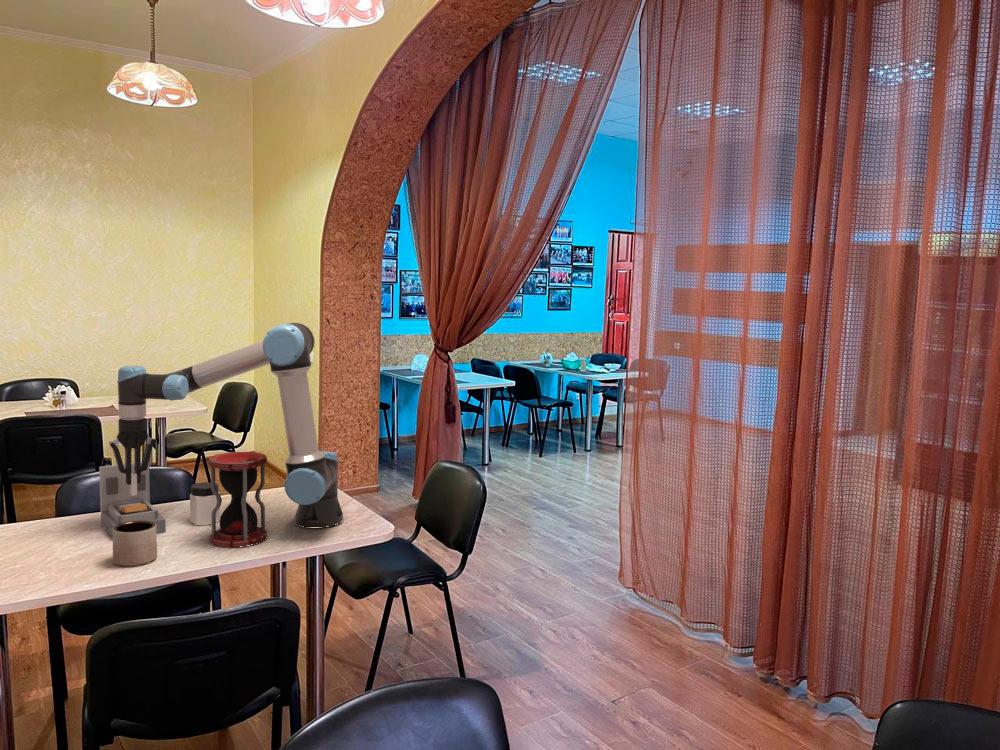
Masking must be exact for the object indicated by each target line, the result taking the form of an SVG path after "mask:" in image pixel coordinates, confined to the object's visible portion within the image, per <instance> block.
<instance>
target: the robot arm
mask: <svg viewBox="0 0 1000 750" xmlns="http://www.w3.org/2000/svg"><path fill="white" fill-rule="evenodd" d="M314 336H315V335H314V334H313V332H312V330H311V329H310V328H309V327H308V326H306V325H305V324H302V323H299V322H290V323H281V324H278V325H276V326H274V327H272V328H271V329H270V330H268V331H267V333H266V334H265V336H264V337H263V340H261V341H258V342H255V343H253V344H250V345H247V346H244V347H242V348H238V349H236V350H234V351H233V350H232V351H231V352H230V351H229V352H227V353H224V354H222V355H219V356H217V357H214V358H211V359H208V360H205V361H202V362H199V363H197V364H194V365H192V366H189V367H186V368H182V369H180V370H176V371H174V372H168V373H165V374H157V373H156V374H154V373H153V374H152V373H147V371H146V368H145V367H144V366H140V365H129V366H128V365H127V366H122V367H119V369H118V375H117V382H116V383H117V391H118V393H117V395H118V402H117V403H118V409H117V411H118V415H117V416H118V418H119V419H118V433H117V435H116V439H114V440H111V441H109V442H108V445H109V446H110V448H111V449H112V452H113V454H114V458H115V462H116V465H118V469H119V471H120V472H121V473H125V474H126V483H127V485H130V494H131V495H132V496H134V495H137V484H138V483H140V482H141V480H140V474H141V472H142V471H146V470H147V467H148V463H149V464H150V459H151V456H152V455H151V454H152V451H153V447H154V445H155V444H156V443H157V440H156V439H155V438H153V437H150V436H149V434H148V432H147V418H146V416H147V400H165V401H166V400H168V401H171V402H172V401H181V400H184V399H186V397H187V396H188V394H190V393H192V392H195V391H197V390H200V389H202V388H206V387H208V386H212V385H214V384H217V383H219V382H222V381H225V380H228V379H231V378H234V377H237V376H240V375H243V374H245V373H248V372H250V371H251V372H252V371H253V370H256V369H259V368H262V367H265V366H268V365H269V366H270V372H271V373H272V374H273V375H275V376H276V377H277V381H278V382H277V383H278V390H279V394H280V403H281V409H282V414H283V421H284V428H285V436H286V440H287V448H288V454H289V455H288V457H287V458H286V459H285V461H284V462H285V468H286V478H285V481H284V490H285V491H284V492H285V494H286V496H287V498H289V499H290V501H292V502H293V503H295V504H298V505H297V508H296V512H295V514H294V524H295V523H296V524H297V525H296V524H295V525H296V526H298V525H300V526H304V527H303V528H305V527H326V526H332V525H335V524H337V523H340V522H341V521H342V520H343V521H344V513H343V509H342V507H341V505H340V504H341V503H340V501H339V498H338V495H339V493H338V488H339V487H338V486H339V485H338V484H339V482H338V481H339V480H338V479H339V477H338V475H339V471H338V470H339V468H338V467H339V465H338V464H339V460H338V459H339V458H338V457H339V456H338V454H337V453H336V452H334V451H327V450H319V446H318V444H319V443H318V438H317V432H316V431H317V430H316V425H315V417H314V413H313V412H314V411H313V406H312V405H313V404H312V399H311V398H312V397H311V393H310V386H309V385H310V384H309V378H308V371H309V370H311V367H312V364H311V357H310V354H311V353H312V351H313V349H314V347H315V337H314ZM145 442H146V446H145V449H144V453H143V457H142V456H141V452H142V447H143V445H144V444H145ZM120 444H121V445H122V447H123V448H124V458H125V459H124V462H123V459H122V455H121V452H120V450H119V446H120ZM133 451H134V453H133V456H134V460H133V461H134V462H133V463H135V472H132V470H131V463H132V452H133ZM141 457H142V458H141ZM141 459H142V461H141ZM141 462H142V465H141ZM123 464H125V468H124V465H123ZM340 524H341V523H340ZM300 526H299V527H300Z"/></svg>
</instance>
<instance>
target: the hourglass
mask: <svg viewBox="0 0 1000 750" xmlns="http://www.w3.org/2000/svg"><path fill="white" fill-rule="evenodd" d="M267 457H268V456H267V455H266V454H265V453H261V452H256V451H230V452H222V453H217V454H214V455H212V456H210V457H209V459H208V464H209V466H210V482H211V490H212V492H213V494H214V495H215V496H216V499H217V504H216V507H215V508H214V509H213V511H212V525H211V534H210V535H209V541H211V542H210V544H212V545H213V544H214V545H213V546H215V545H217V546H216V547H219V546H222V547H221V548H226V547H239V548H241V547H240V546H247V545H251V544H256V543H258V544H260V543H259V542H261V543H262V541H263V540H264V541H266V540H267V538H268V531H267V530H266V516H265V515H266V507H265V504H264V503H263V501H262V500H261V497H260V495H261V491H262V489H264V486H265V483H266V482H265V480H266V479H265V478H266V476H265V475H266V474H265V471H266V470H265V469H266V468H265V465H266V463H267V461H268V458H267ZM258 467H260V485H258V488H257V489H256V491H255V494H254V499H255V501H256V503H257V504H258V505H259V507H260V526H258V523H259V522H258V521H259V520H258V515H257V513H256V511H255V509H254V507H252V506H251V505H250V503H248V502H247V496H248V493H249V491H251V489H252V488H253V487H254V486H255V484H256V482H257V479H258V469H257V468H258ZM216 469H218V470H219V471H218V477H219V478H218V479H219V483H220V484H221V486H222V488H223V489H224V490H225V491H226V492H227V493H228V494H229V495H230V496H231V498H230V499H231V500H230V502H229V504H228V505H227V506H226V508H225V509H224V510H223V512H222V513H221V514H220V521H219V528H218V529H217V523H216V512H217V510H218V509H219V507H220V508H221V506H222V503H223V499H222V497H221V493H220V494H219V493H217V491H216V489H215V483H216ZM266 537H267V538H266ZM265 539H266V540H265ZM264 541H263V542H264ZM256 545H257V544H256ZM247 547H248V546H247Z"/></svg>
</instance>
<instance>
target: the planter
mask: <svg viewBox="0 0 1000 750" xmlns="http://www.w3.org/2000/svg"><path fill="white" fill-rule="evenodd" d="M157 540H158V539H157V534H156V523H154V522H151V521H130V522H125V523H121V524H118V525H116V526H114V527H113V537H112V560H113V561H112V562H113V563H114V564H116V565H117V566H119V565H120V566H121V567H125V566H132V567H138V565H140V566H144V565H147V564H150V563H152V562H154V561H155V560H156V559H157V558H158V541H157ZM149 562H150V563H149ZM143 564H144V565H143ZM120 566H119V567H120Z"/></svg>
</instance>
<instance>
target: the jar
mask: <svg viewBox="0 0 1000 750" xmlns="http://www.w3.org/2000/svg"><path fill="white" fill-rule="evenodd" d="M219 488H220V487H219V483H217V482H215V489H216V491H217V493H219V494H220V495H221V493H220V490H219ZM190 492H191V493H190V494H189V514H190V515H189V520H190V524H192V523H193V524H192V525H194V524H195V526H196V525H204V526H210V525H209V524H212V511H213V509H214V508H215V507H216V504H217V499H216V496H215V495H214V494H213V492H212V490H211V481H208V482H207V481H204V482H198V483H193V484H192V485H191V486H190ZM220 517H221V506H220V507H219V509H218V510H217V512H216V522H217V521H219V522H220ZM217 523H218V522H217Z"/></svg>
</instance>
